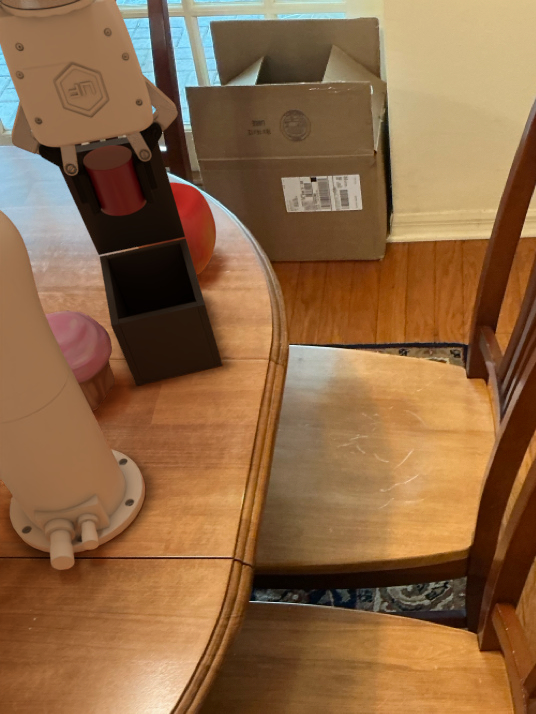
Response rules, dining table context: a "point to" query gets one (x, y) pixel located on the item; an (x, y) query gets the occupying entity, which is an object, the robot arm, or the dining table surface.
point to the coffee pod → (115, 180)
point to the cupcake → (85, 352)
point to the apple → (194, 224)
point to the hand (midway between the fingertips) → (122, 200)
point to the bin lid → (135, 227)
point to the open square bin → (159, 312)
